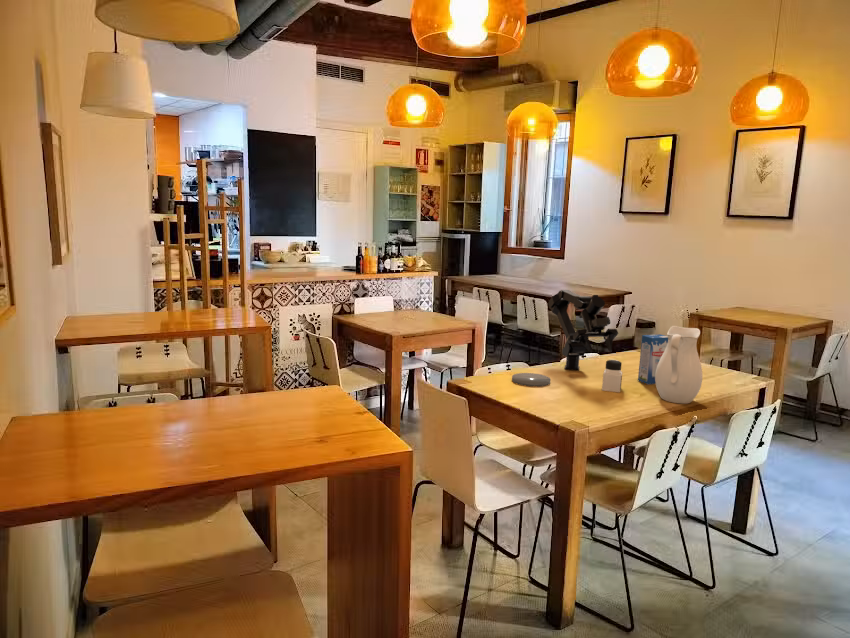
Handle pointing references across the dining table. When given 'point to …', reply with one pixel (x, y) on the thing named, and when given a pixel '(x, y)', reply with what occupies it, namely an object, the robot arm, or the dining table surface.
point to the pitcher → (679, 366)
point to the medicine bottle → (612, 376)
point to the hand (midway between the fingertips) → (601, 351)
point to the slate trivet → (531, 379)
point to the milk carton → (651, 356)
